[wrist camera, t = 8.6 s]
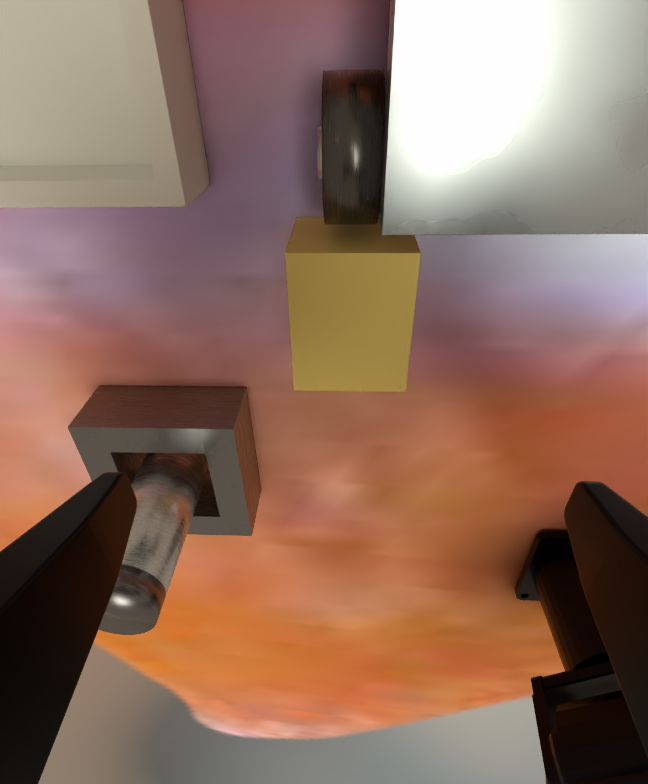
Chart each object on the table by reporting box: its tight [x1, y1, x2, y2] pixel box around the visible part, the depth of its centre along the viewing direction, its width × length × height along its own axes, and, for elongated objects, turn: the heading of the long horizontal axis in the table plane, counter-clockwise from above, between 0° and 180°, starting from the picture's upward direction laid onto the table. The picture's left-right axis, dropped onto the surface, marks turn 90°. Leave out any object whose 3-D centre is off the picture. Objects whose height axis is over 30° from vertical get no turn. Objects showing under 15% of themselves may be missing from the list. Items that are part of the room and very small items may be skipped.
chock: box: [285, 217, 421, 392], centre depth 16 cm, size 5×4×4 cm
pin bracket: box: [68, 386, 261, 536], centre depth 22 cm, size 7×7×3 cm
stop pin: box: [99, 453, 209, 635], centre depth 20 cm, size 3×3×9 cm
